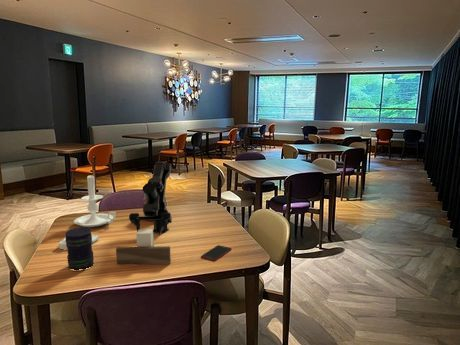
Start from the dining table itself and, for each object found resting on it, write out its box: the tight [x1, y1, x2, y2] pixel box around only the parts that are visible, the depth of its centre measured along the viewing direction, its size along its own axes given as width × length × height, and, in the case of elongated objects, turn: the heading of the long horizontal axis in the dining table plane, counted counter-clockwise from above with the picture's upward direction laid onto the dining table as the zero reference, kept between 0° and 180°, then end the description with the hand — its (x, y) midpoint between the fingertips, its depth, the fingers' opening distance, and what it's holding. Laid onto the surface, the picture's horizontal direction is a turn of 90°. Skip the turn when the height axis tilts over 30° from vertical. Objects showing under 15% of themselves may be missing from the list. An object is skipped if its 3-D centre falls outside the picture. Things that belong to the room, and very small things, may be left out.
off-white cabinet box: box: [135, 228, 155, 247], centre depth 153 cm, size 5×6×12 cm
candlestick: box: [73, 174, 117, 228], centre depth 195 cm, size 21×25×28 cm
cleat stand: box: [115, 245, 172, 265], centre depth 153 cm, size 11×22×7 cm, turn 91°
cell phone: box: [200, 244, 232, 262], centre depth 159 cm, size 8×15×1 cm, turn 150°
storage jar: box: [64, 227, 95, 270], centre depth 146 cm, size 10×10×15 cm
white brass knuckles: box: [58, 233, 100, 250], centre depth 171 cm, size 3×18×15 cm
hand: (148, 235), depth 160 cm, fingers open, 9 cm apart
